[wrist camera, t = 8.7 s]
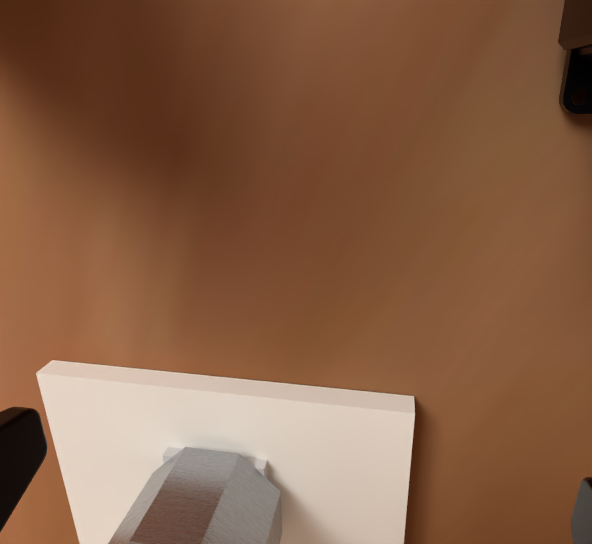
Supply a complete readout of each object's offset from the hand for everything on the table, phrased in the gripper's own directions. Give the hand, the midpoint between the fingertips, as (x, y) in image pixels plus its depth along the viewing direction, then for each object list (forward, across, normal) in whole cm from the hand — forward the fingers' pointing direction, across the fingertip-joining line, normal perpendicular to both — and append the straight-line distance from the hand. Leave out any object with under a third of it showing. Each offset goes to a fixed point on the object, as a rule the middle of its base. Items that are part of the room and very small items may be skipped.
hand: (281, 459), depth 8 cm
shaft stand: (+12, +6, +13) cm, 19 cm away
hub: (+10, +6, +13) cm, 17 cm away
